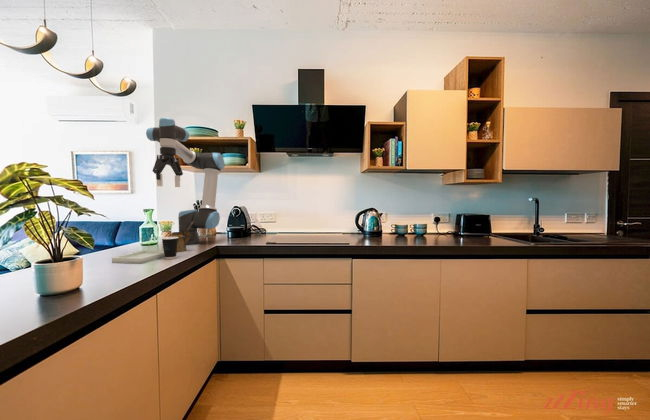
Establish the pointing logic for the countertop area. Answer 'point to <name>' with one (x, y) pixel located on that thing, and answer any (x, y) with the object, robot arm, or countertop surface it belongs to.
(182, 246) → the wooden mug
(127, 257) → the sage tray
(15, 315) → the countertop surface
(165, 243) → the dixie cup
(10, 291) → the countertop surface
